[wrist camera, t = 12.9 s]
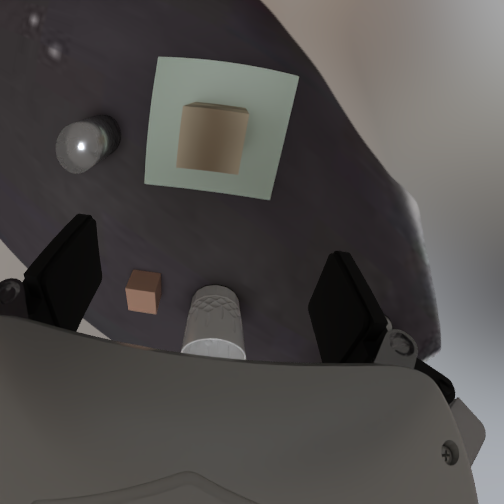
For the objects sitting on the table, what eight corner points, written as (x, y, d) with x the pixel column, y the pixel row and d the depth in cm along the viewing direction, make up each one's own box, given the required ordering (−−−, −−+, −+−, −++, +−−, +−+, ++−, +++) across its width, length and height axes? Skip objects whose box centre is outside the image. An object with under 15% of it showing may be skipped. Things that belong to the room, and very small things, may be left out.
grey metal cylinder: (122, 114, 24) (98, 122, 19) (119, 157, 27) (97, 174, 22) (84, 115, 24) (55, 124, 19) (83, 156, 26) (56, 172, 21)
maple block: (245, 107, 25) (249, 114, 19) (237, 154, 27) (238, 174, 21) (195, 101, 24) (182, 106, 18) (188, 148, 26) (176, 167, 21)
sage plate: (297, 76, 24) (299, 76, 23) (268, 196, 31) (269, 200, 30) (161, 57, 21) (158, 56, 21) (146, 180, 29) (144, 183, 28)
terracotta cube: (160, 272, 36) (154, 292, 33) (161, 294, 38) (156, 314, 35) (133, 269, 36) (125, 288, 32) (135, 290, 38) (128, 309, 35)
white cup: (203, 272, 37) (196, 330, 28) (253, 294, 39) (258, 351, 31) (180, 308, 40) (171, 363, 32) (226, 326, 43) (226, 380, 34)
